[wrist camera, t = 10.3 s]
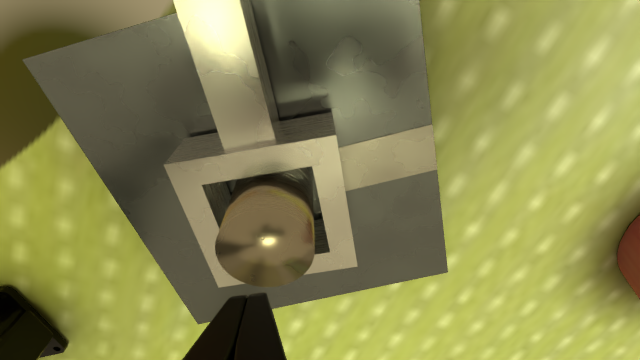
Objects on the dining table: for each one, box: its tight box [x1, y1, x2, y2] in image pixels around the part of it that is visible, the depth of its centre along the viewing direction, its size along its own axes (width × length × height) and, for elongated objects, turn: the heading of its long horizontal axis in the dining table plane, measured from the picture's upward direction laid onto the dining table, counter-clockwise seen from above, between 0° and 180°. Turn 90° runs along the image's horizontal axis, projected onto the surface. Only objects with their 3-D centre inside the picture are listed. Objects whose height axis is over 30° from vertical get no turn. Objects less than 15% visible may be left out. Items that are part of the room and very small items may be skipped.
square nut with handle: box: [164, 0, 358, 288], centre depth 15 cm, size 17×7×3 cm, turn 10°
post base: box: [23, 0, 448, 324], centre depth 17 cm, size 17×18×6 cm
